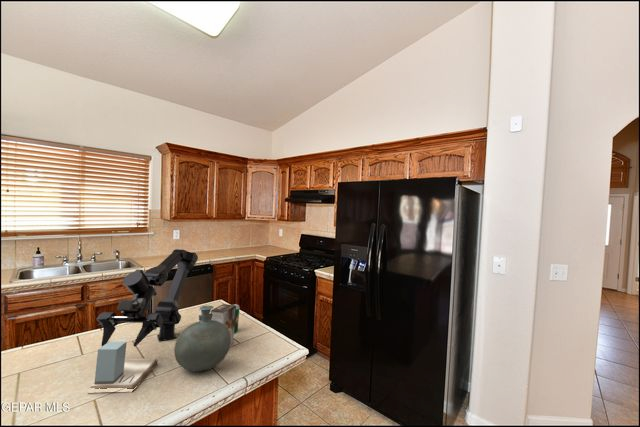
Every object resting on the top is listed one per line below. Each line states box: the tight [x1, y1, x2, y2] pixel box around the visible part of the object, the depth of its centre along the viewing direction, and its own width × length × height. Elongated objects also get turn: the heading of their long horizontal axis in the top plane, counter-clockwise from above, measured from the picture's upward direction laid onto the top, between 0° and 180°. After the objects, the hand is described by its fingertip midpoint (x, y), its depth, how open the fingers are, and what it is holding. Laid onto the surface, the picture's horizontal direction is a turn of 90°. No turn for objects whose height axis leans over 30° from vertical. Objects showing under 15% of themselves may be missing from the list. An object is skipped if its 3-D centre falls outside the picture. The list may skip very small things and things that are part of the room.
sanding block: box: [93, 341, 128, 384], centre depth 78 cm, size 5×5×10 cm
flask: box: [174, 305, 232, 372], centre depth 89 cm, size 12×17×22 cm
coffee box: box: [210, 303, 237, 346], centre depth 106 cm, size 9×6×16 cm
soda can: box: [234, 304, 241, 334], centre depth 121 cm, size 5×5×12 cm
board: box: [89, 358, 159, 389], centre depth 82 cm, size 16×12×2 cm
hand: (118, 346), depth 81 cm, fingers open, 9 cm apart
